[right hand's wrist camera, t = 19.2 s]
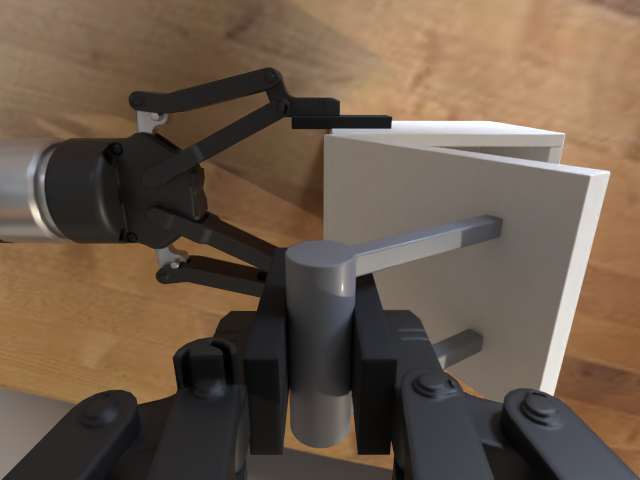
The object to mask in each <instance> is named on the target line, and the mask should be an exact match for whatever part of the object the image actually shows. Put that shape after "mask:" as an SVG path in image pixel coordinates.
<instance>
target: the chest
mask: <svg viewBox="0 0 640 480" xmlns="http://www.w3.org/2000/svg"><path fill="white" fill-rule="evenodd" d="M330 134H347V135H354V136H361V137H369V138H376V139H383V140H390V141H397V142H404V143H411V144H419V145H426V146H433V147H440V148H447V149H454V150H461V151H468V152H476V153H483V154H490V155H497V156H504V157H511V158H518V159H525V160H533V161H540V162H547V163H554V164H559V163H560V158H561V153H562V147H561V146H563V143H564V138H565V134H564V133H559V132H553V131H546V130H540V129H534V128H528V127H522V126H515V125H509V124H503V123H497V122H491V121H392V127H391V129H330Z"/></svg>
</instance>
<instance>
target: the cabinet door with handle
mask: <svg viewBox="0 0 640 480" xmlns="http://www.w3.org/2000/svg"><path fill="white" fill-rule="evenodd" d="M609 177H610V172H609V171H604V170H597V169H590V168H582V167H575V166H568V165H561V164H554V163H547V162H540V161H533V160H525V159H518V158H511V157H504V156H497V155H490V154H483V153H476V152H468V151H461V150H454V149H447V148H440V147H433V146H426V145H419V144H411V143H404V142H397V141H390V140H383V139H376V138H369V137H361V136H354V135H347V134H325V135H324V234H323V240H313V241H305V242H301V243H297V244H295V245H293V246H291V247H289V248H288V249H287V251H286V253H285V267H286V298H287V330H288V361H289V393H290V424H291V430H292V433H293V434H294V436H295V437H296V438H297V439H298V440H299V441H300V442H301V443H303V444H305V445H307V446H310V447H314V448H327V447H331V446H334V445H336V444H338V443H340V442H341V441H342V440H343V439H344V438H345V437H346V436H347V434H348V433H349V430H350V425H351V415H352V414H354V411H353V402H352V392H351V381H352V352H353V323H354V306H355V287H356V277H359V276H363V275H366V274H370V273H373V277H374V280H375V283H376V287H377V290H378V294H379V297H380V301H381V304H382V307H383V310H410V311H411V312H412V313H414V314H415V315H416V316H417V317H418V318H420V320H421V322H422V324H423V326H424V329H425V332H426V333H427V335H428V338H429V341H430V342H431V344H432V347H433V349H434V351H435V353H436V356H437V358H438V360H439V362H440V365H441V367H442V369H443V370H444V369H446V370H448V371H449V372H451V373H452V374H453V375H455V376H456V377H458V378H459V379H460V380H462V381H463V382H465V383H466V384H467V385H469V386H470V387H472V388H473V389H474V390H476V391H477V392H479V393H480V394H481V395H483V396H484V397H486V398H487V399H488V400H491V401H495V402H500V403H503V402H504V397H505V396H506V395H507V394H508V393H509V391H512V390H515V389H518V388H527V389H535V390H538V391H542V392H546V393H548V394H550V395H552V396H554V392H555V388H556V384H557V380H558V376H559V372H560V368H561V364H562V360H563V357H564V353H565V349H566V345H567V341H568V337H569V333H570V329H571V325H572V321H573V317H574V314H575V310H576V306H577V302H578V298H579V294H580V290H581V286H582V282H583V278H584V274H585V270H586V267H587V263H588V259H589V255H590V251H591V247H592V243H593V239H594V235H595V231H596V227H597V224H598V220H599V216H600V212H601V208H602V204H603V200H604V196H605V192H606V188H607V184H608V180H609Z"/></svg>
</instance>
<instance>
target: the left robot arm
mask: <svg viewBox="0 0 640 480" xmlns="http://www.w3.org/2000/svg"><path fill="white" fill-rule="evenodd" d="M264 91H266V93H267V95H268V98H269V100H270V103H268V104H267V105H265V106H263V107H261V108H259V109H258V110H256V111H254V112H252V113H250V114H248V115H247V116H245V117H243V118H241V119H239V120H238V121H236V122H234V123H232V124H230V125H229V126H227V127H225V128H223V129H221V130H220V131H218V132H216V133H214V134H212V135H211V136H209V137H207V138H205V139H203V140H201V141H200V142H198V143H196V144H194V145H192V146H190V147H188V148H186V149H185V150H182V149H180V148H179V147H177V146H176V145H174V144H173V143H171V142H170V141H168V140H167V139H165V138H164V137H163V136H161V135H160V134H158V133H157V130H158V127H159V126H160V125H162V124H167V123H169V122H170V121H171V120H172V113H177V112H185V111H190V110H194V109H198V108H202V107H206V106H209V105H213V104H217V103H221V102H225V101H229V100H233V99H237V98H241V97H245V96H248V95H252V94H256V93H260V92H264ZM129 103H130V105H131V107H132V108H133V109H135V110H137V132H138V133H135V134H133V135H132V136H130V137H129V138H72V139H68V140H63V139H60V138H0V243H61V244H63V243H71V242H73V241H74V242H76V243H141V244H144V245H146V246H148V247H150V248H153V249H155V251H156V254H157V258H158V262H159V265H160V269H159V270H158V272H157V273H156V279H157V280H158V281H159V282H160V283H162V284H171V283H180V282H191V283H195V284H200V285H205V286H209V287H214V288H219V289H223V290H228V291H233V292H237V293H242V294H247V295H252V296H256V297H261V295H262V291H263V288H264V285H265V281H266V278H267V274H268V271H269V267H270V264H271V261H272V257H273V254H274V250H275V248H278V247H276V246H274V245H272V244H270V243H268V242H266V241H264V240H262V239H259V238H257V237H255V236H253V235H251V234H249V233H247V232H245V231H243V230H240V229H238V228H236V227H234V226H232V225H230V224H228V223H226V222H224V221H222V220H220V219H219V217H218V216H216V215H214V214H212V213H210V212H208V211H206V210H207V209H208V206H207V198H206V196H205V193H204V190H203V186H204V180H205V176H204V168H201V166H200V165H199V163H201V162H203V161H204V160H206V159H208V158H210V157H212V156H214V155H215V154H217V153H219V152H221V151H223V150H225V149H226V148H228V147H230V146H232V145H234V144H236V143H238V142H239V141H241V140H243V139H245V138H247V137H249V136H250V135H252V134H254V133H256V132H258V131H260V130H261V129H263V128H265V127H267V126H269V125H271V124H273V123H274V122H276V121H278V120H280V119H282V118H284V117H292V129H391V127H392V117H390V116H387V115H340V101H338V100H336V99H334V98H296V97H293V96H291V95H290V94H289V93H288V91H287V89H286V86H285V84H284V81H283V77H282V75H281V73H280V72H279V71H277V70H276V69H273V68H264V69H260V70H256V71H253V72H249V73H245V74H241V75H237V76H234V77H230V78H226V79H222V80H218V81H214V82H211V83H207V84H203V85H199V86H195V87H191V88H188V89H184V90H180V91H176V92H172V93H168V94H167V93H159V92H144V91H136V92H133V93H131V95H130V96H129ZM181 236H183V237H185V238H187V239H190V240H192V241H194V242H196V243H199V244H208V245H210V246H212V247H214V248H216V249H219V250H221V251H223V252H225V253H227V254H229V255H232V256H234V257H236V258H238V259H240V260H242V261H245V262H247V263H249V264H251V265H253V266H256V267H258V268H254V267H249V266H245V265H240V264H236V263H231V262H227V261H222V260H218V259H213V258H208V257H204V256H195V255H191V256H189V255H188V252H187V251H185V250H178V249H176V248H175V247H174V246H173V245H172V243H173V242H174V241H176V240H177V239H178V238H180V237H181ZM259 268H260V269H259Z"/></svg>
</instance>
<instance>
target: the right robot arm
mask: <svg viewBox="0 0 640 480" xmlns="http://www.w3.org/2000/svg"><path fill="white" fill-rule="evenodd" d="M287 249H288V248H275V250H274V254H273V257H272V261H271V264H270V267H269V271H268V274H267V278H266V281H265V285H264V288H263V291H262V295H261V298H260V302H259V305H258V309H257V311H231V312H229V313H228V314H227V315H226V316H225V317H224V318H222V319H221V320H220V322H219V324H218V327H217V329H216V333H214V336H213V337H209V338H203V339H198V340H195V341H193V342H190V343H187V344H186V345H184V346H183V347H181V348H180V349H179V350H178V351H177V352H176V353H175V355H174V356H173V362H174V368H175V375H176V381H177V388H178V390H177V393H176V394H174V395H172V396H170V397H167V398H164V399H160V400H156V401H152V402H148V403H143V404H139V405H137V400H136V398H135V397H134V396H133V394H132V393H130V392H127V391H124V390H108V391H105V392H101V393H97V394H95V395H93V396H91V397H88V398H86V399H84V400H82V401H81V402H80V403H79V404H77V405H76V406H75V407H74V408H72V409H71V410H70V411H69V412H68V413H67V414H66V415H65V416H64V417H63V418H62V419H61V420H60V421H59V422H58V423H57V424H56V425H55V426H54V427H53V428H52V429H51V430H50V431H49V432H48V433H47V434H46V436H44V438H43V439H42V440H41V441H40V442H39V443H38V444H37V445H36V446H35V447H34V448H33V449H32V450H31V451H30V452H29V453H28V454H27V455H26V456H25V457H24V458H23V459H22V460H21V461H20V462H19V463H18V464H17V465H16V466H15V467H14V468H13V469H12V470H11V471H10V472H9V473H8V474H7V475H6V476H5V477H4V478H3V479H2V480H247V464H246V455H247V450H248V445H249V442H250V454H251V455H282V453H283V443H284V434H285V424H286V415H287V405H288V395H289V361H288V330H287V298H286V267H285V253H286V251H287ZM351 392H352V402H353V411H354V421H355V431H356V440H357V450H358V455H390V446H391V441H392V446H393V451H394V464H393V476H392V480H640V478H639V477H638V476H637V475H636V474H635V473H634V472H633V471H632V470H631V469H630V468H629V467H628V466H627V465H626V464H625V463H624V462H623V461H622V460H621V459H620V458H619V457H618V456H617V455H616V454H615V453H614V452H613V451H612V450H611V449H610V448H609V447H608V446H607V445H606V444H605V443H604V442H603V441H602V440H601V439H600V438H599V437H598V436H597V435H596V434H595V433H594V432H593V431H592V430H591V429H590V428H589V427H588V426H587V425H586V424H585V423H584V422H583V421H582V420H581V419H580V418H579V417H578V416H577V415H576V414H575V413H574V412H573V411H572V410H571V409H570V408H569V407H568V406H567V405H566V404H564V403H563V402H562V401H561V400H559V399H558V398H556V397H554V396H552V395H550V394H548V393H546V392H542V391H538V390H535V389H527V388H518V389H515V390H512V391H509V393H508V394H507V395H506V396H505V397H504V402H503V403H500V402H495V401H491V400H487V399H482V398H479V397H476V396H472V395H470V394H468V393H465V392H463V389H462V387H461V386H460V384H459V383H458V381H457V380H456V379H454V378H453V377H452V376H451V375H449V374H448V373H445V372H444V371H443V369H442V367H441V365H440V362H439V360H438V358H437V356H436V353H435V351H434V349H433V347H432V344H431V342H430V341H429V338H428V335H427V333H426V332H425V329H424V326H423V324H422V322H421V320H420V318H418V317H417V316H416V315H415V314H414V313H412V312H411V311H410V310H383V307H382V304H381V301H380V297H379V294H378V290H377V287H376V283H375V280H374V277H373V273H370V274H366V275H363V276H359V277H356V287H355V306H354V323H353V352H352V381H351Z"/></svg>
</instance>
